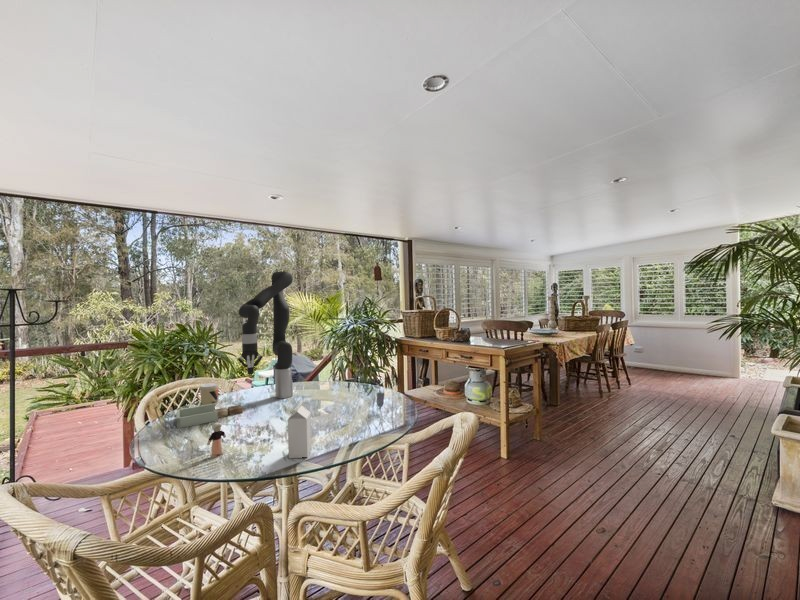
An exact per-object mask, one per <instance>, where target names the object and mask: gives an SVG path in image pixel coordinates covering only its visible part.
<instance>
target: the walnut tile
mask: <svg viewBox="0 0 800 600" xmlns="http://www.w3.org/2000/svg"><path fill="white" fill-rule="evenodd" d="M227 410H228V415H229V416H233V415H238V414H243V413H244V411H243V407H242V405H241V404H238V405H233V406H228V408H227Z"/></svg>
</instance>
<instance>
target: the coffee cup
mask: <svg viewBox="0 0 800 600" xmlns="http://www.w3.org/2000/svg"><path fill="white" fill-rule="evenodd" d="M219 385H220V384H219V383H217V382H209V383H208V382H207V383H203V384H200V386H199V392H200V403H201V406H202V405H208V404H214V403H215V406H216V405H217V404H218V403H219V402H218V401H219ZM217 406H218V405H217ZM217 406H216V407H217Z"/></svg>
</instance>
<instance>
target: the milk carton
mask: <svg viewBox="0 0 800 600" xmlns="http://www.w3.org/2000/svg"><path fill="white" fill-rule="evenodd" d="M290 413H291V415H290V416H289V417H288V419H287V440H288V443H287V444H288V446H287V447H288V459H298V458H299V459H301V458H302V457H307V458H308V457H309V456H308V455H310V454H311V451H312V419H311V417H312V416H311V415H312V413H311V411H310V410H308V409H307V408H306V407H305V406H303V402H300V404H299V405H298V406H297V407H296V408H295V407H294V408H293V409H292V410H291V411H290ZM302 459H303V458H302Z"/></svg>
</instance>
